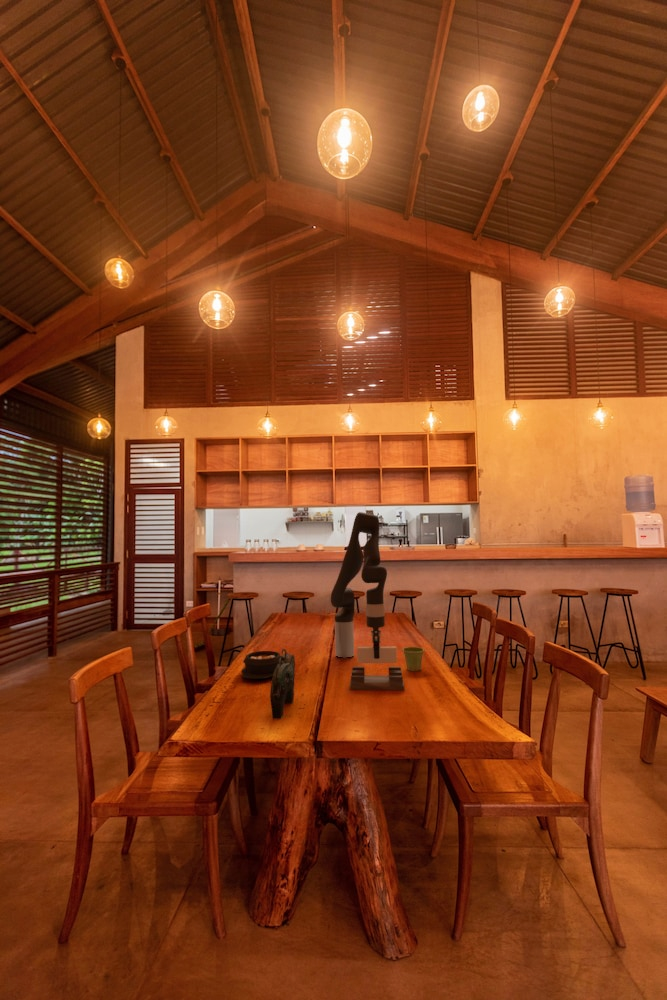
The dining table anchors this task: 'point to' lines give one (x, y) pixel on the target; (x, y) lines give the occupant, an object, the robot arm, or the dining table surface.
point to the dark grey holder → (376, 680)
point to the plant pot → (413, 658)
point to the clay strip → (384, 653)
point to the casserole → (260, 664)
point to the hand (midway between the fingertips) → (376, 657)
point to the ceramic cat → (282, 684)
